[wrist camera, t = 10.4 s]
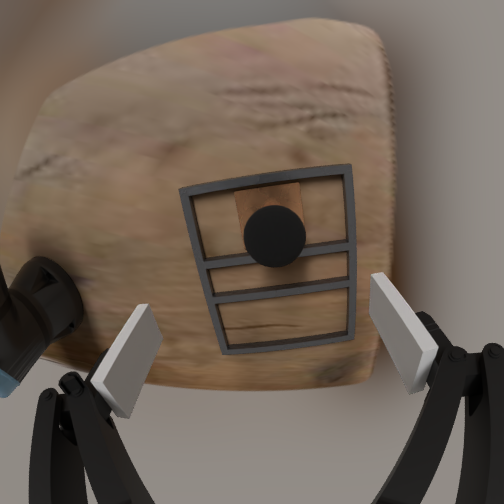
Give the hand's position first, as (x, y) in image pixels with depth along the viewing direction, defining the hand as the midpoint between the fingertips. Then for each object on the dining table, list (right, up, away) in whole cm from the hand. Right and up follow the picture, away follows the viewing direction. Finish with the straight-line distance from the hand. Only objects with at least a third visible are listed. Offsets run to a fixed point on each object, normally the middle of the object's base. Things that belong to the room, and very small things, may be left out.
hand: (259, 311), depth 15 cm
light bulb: (+2, +8, +17) cm, 19 cm away
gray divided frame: (+3, +1, +20) cm, 20 cm away
